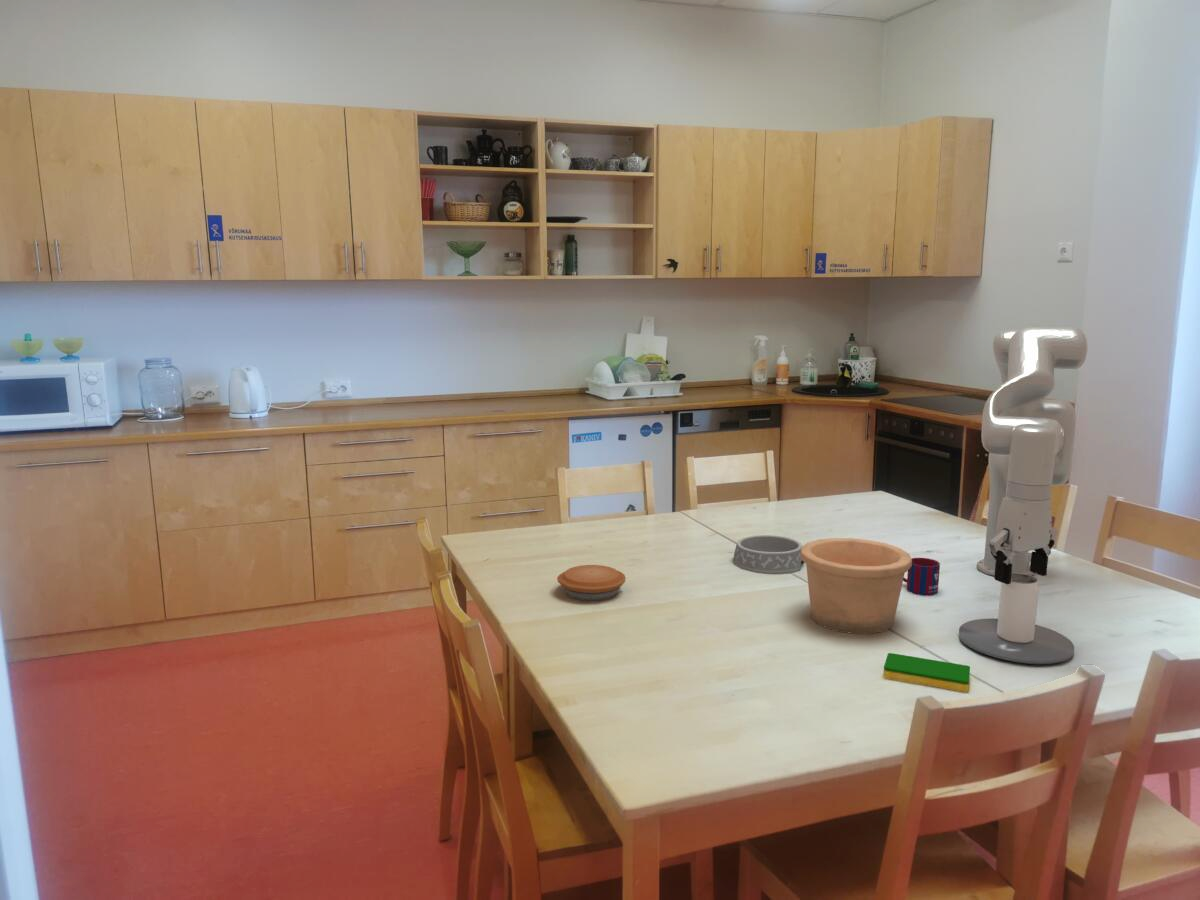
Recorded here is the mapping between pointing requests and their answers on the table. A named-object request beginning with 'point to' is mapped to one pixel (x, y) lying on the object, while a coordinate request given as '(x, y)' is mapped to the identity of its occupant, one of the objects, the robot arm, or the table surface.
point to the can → (1018, 609)
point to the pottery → (854, 583)
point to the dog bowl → (768, 554)
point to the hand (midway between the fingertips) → (1020, 577)
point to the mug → (923, 576)
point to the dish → (1039, 651)
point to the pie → (591, 582)
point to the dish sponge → (927, 672)
